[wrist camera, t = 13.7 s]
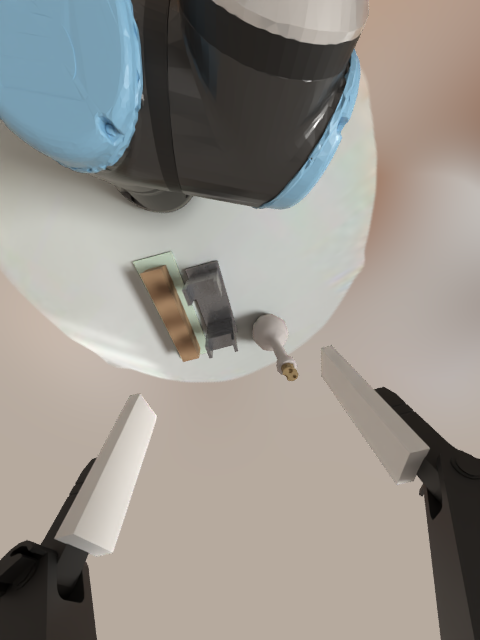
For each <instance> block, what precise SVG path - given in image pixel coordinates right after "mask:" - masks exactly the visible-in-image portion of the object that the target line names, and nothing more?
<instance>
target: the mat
mask: <svg viewBox="0 0 480 640" xmlns="http://www.w3.org/2000/svg"><path fill="white" fill-rule="evenodd" d="M133 264H134V266H135V268H136V270H137V272H138V274H139V276H140V273H142V272H144V271H145V270H147V269H151V268H155V267H159V266H163V265H166V266H167V269H168V271H169V274H170V276H171V278H172V281H173V283H174V286H175V288H176V290H177V293H178V295H179V298H180V300H181V302H182V305H183V307H184V310H185V312H186V314H187V317H188V319H189V322H190V324H191V326H192V329H193V331H194V334H195V336H196V338H197V341H198V343H199V346H200V348H201V349H200V354H204V353H207V351H206V348H205V342H206V338H205V335H204V333H203V330H202V328H201V325H200V323H199V320H198V318H197V315H196V313H195V310H194V307H193V305H191V306H188V304H187V302H186V299H185V297H184V294H183V292H182V289H183V287H184V282H183V280H182V277H181V274H180V272H179V269H178V267H177V264H176V262H175V259H174V257H173V254H172V252H168V253H164V254H160V255H156V256H153V257H149V258H145V259H142V260H138V261H134V262H133ZM140 278H141V276H140ZM141 279H142V278H141ZM142 281H143V280H142ZM143 283H144V282H143ZM144 285H145V284H144ZM145 287H146V286H145ZM146 289H147V288H146ZM147 291H148V290H147ZM148 293H149V292H148ZM149 295H150V294H149ZM150 297H151V296H150ZM151 299H152V298H151ZM152 301H153V300H152ZM153 303H154V302H153ZM154 305H155V304H154ZM155 307H156V306H155ZM156 309H157V308H156ZM157 311H158V310H157ZM158 313H159V312H158ZM159 315H160V314H159ZM160 317H161V316H160ZM161 319H162V318H161ZM162 321H163V320H162ZM163 323H164V322H163ZM164 325H165V324H164ZM165 327H166V326H165ZM166 329H167V328H166ZM167 331H168V330H167ZM168 333H169V332H168ZM169 335H170V334H169ZM170 337H171V336H170ZM171 339H172V338H171ZM172 341H173V340H172ZM173 343H174V342H173ZM174 345H175V344H174ZM175 347H176V346H175ZM176 349H177V348H176ZM177 351H178V350H177ZM178 353H179V352H178ZM179 355H180V354H179ZM180 357H181V356H180ZM181 359H182V358H181Z"/></svg>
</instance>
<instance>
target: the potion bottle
mask: <svg viewBox="0 0 480 640" xmlns="http://www.w3.org/2000/svg"><path fill="white" fill-rule="evenodd" d="M288 336H289V334H288V330H287V327H286V324H285V321H284V320H282V319H281V318H279V317H277V316H275V315H272V314H266V315H262V316H260V317H259V318H258V319H257V320H256V321H255V323H254V324H253V340H254V341H255V342H256V343H257V344H258V345H259V346H260V347H261V348H262V349H263V350H267V351H274V353H275V355H276V357H277V371H278V372H279V373H281V374H282V375H285V376H286V377H287V380H288V381H294V380H295V379H297V377H298V373H297V370H296V368H297V364H296V361H295V360H294V359H293V357H290V356H288V355H287V353H286V351H285V349H284V348H283V347H284V345H285V343H286V341H287V339H288Z"/></svg>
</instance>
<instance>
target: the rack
mask: <svg viewBox="0 0 480 640" xmlns="http://www.w3.org/2000/svg"><path fill="white" fill-rule="evenodd" d="M185 271H186V273H187V276H188V280H187V282H186V284H185V285H184V287H183V289H182V292H183V294H184V297H185V299H186V302H187V304H188V306H191V305H192V303H193V300H197V302H198V305H199V308H200V310H201V313H202V316H203V318H204V321H205V324H206V326H207V334H206V342H205V348H206V351H207V353H208V356H209V358H212V357H213V350H216V349H220V348H224V347H228V346H231V345H233V346H234V350H235V352H236V351H238V348H237V341H236V335H235V333H236V332H238V331H237V327H236V324H235V320H234V317H233V313H232V310H231V306H230V303H229V299H228V296H227V292H226V289H225V285H224V282H223V278H222V275H221V271H220V268H219V264H218V261H214V262H210V263H206V264H203V265H199V266H195V267H191V268H188V269H185Z"/></svg>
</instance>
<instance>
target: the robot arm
mask: <svg viewBox="0 0 480 640" xmlns="http://www.w3.org/2000/svg"><path fill="white" fill-rule="evenodd" d="M368 13H369V0H0V119H1V120H2V121H3V122H4V123H5V125H6V126H7V127H8V128H9V129H10V130H11V131H12V132H13V133H14V134H15V135H17V136H18V137H19V138H20V139H22V140H23V141H24V142H26V143H27V144H28V145H30V146H31V147H33V148H34V149H36V150H38V151H39V152H41V153H43V154H45V155H47V156H49V157H51V158H52V159H53V160H55V161H57V162H58V163H59V164H60V165H62V166H64V167H67V168H69V169H71V170H73V171H76V172H80V173H86V174H89V175H91V176H94V177H96V178H99V179H101V180H104V181H106V182H109V183H111V184H114V186H115V187H116V188H117V189H118V190H119V192H120V193H121V194H122V195H124V196H125V197H126V198H127V199H128V200H130V201H131V202H132V203H134V204H136V205H137V206H139V207H141V208H144V209H146V210H150V211H153V212H159V213H168V212H173V211H176V210H178V209H180V208H182V207H183V206H184V205H186V204H187V203H188V202H189V201H190V199H191V198H192V197H193V196H197V197H202V198H208V199H213V200H219V201H224V202H230V203H235V204H241V205H246V206H251V207H253V208H255V209H258V208H259V209H263V208H272V209H287V208H290V207H292V206H294V205H295V204H297V203H298V202H300V201H301V200H302V199H303V198H304V197H305V196H306V195H307V194H308V193H309V192H310V191H311V190H312V188H313V187H314V186H315V184H316V183H317V182H318V180H319V179H320V178H321V176H322V174H323V173H324V171H325V170H326V168H327V166H328V165H329V163H330V161H331V159H332V158H333V156H334V154H335V152H336V150H337V148H338V146H339V143H340V141H341V139H342V136H341V130H342V129H343V127H344V126H345V124H346V123H347V122H348V121H349V119H350V117H351V114H352V111H353V108H354V105H355V101H356V97H357V93H358V88H359V81H360V63H359V59H358V56H357V55H356V52H355V49H354V48H355V46H356V43H357V41H358V39H359V37H360V35H361V32H362V30H363V28H364V25H365V23H366V20H367V17H368ZM321 372H322V373H321V376H322V377H323V379H324V381H325V382H326V383H327V385H328V386H329V388H330V389H331V391H332V392H333V393H334V395H335V396H336V398H337V399H338V401H339V402H340V404H341V405H342V407H343V408H344V410H345V411H346V412H347V414H348V415H349V417H350V418H351V420H352V421H353V423H354V424H355V425H356V427H357V428H358V430H359V431H360V433H361V434H362V436H363V437H364V438H365V440H366V441H367V443H368V444H369V446H370V447H371V449H372V450H373V451H374V453H375V454H376V456H377V457H378V459H379V460H380V462H381V463H382V465H383V466H384V467H385V469H386V470H387V472H388V473H389V475H390V476H391V477H392V479H393V480H394V482H395V483H396V485H399V484H403V483H407V482H411V481H414V479H415V477H416V475H417V476H418V477H419V478H420V479H421V481H422V482H423V485H422V487H421V488H420V491H419V495H421V496H423V495H424V498H425V506H426V515H427V524H428V532H429V541H430V549H431V558H432V567H433V575H434V584H435V593H436V601H437V610H438V618H439V627H440V635H441V640H480V459H477V458H475V457H473V456H472V455H469V454H467V453H465V452H463V451H460V450H457V449H456V448H454V447H453V446H452V445H450V444H449V443H448V442H447V441H446V440H445V439H444V438H442V437H441V436H440V435H439V434H438V433H437V432H436V431H435V430H434V429H433V428H432V427H431V426H430V425H429V424H428V423H426V422H425V421H424V420H423V419H422V418H421V417H420V416H419V415H418V414H417V413H416V412H414V411H413V409H412V408H410V407H409V406H408V405H406V403H405V402H404V401H403V400H402V399H401V398H400V397H399V396H398V395H397V394H395V393H394V392H392V391H390V390H388V389H387V388H385V387H382V388H377V389H373V388H372V387H371V386H370V385H369V384H368V383H367V382H366V381H365V380H364V379H363V378H362V377H361V376H360V375H359V374H358V372H357V371H356V370H355V369H354V368H353V367H352V366H351V365H350V364H349V363H348V362H347V361H346V360H345V359H344V358H343V357H342V356H341V355H340V354H339V353H338V352H337V351H336V349H334V347H333V346H332V345H331V346H327V347H323V348H321ZM156 419H157V416H156V414H155V413H154V412H153V410H152V409H151V407H150V406H149V405H148V403H147V402H146V401H145V399H144V398H143V396H142V395H141V393H139V394H135V395H131V396H129V398H128V400H127V402H126V404H125V406H124V408H123V410H122V412H121V413H120V415H119V417H118V419H117V421H116V423H115V425H114V427H113V429H112V430H111V432H110V434H109V436H108V438H107V440H106V442H105V444H104V445H103V447H102V449H101V451H100V453H99V455H98V457H97V458H94V459H92V460H91V461H90V462H89V464H88V465H87V466H86V467H85V468H84V470H83V471H82V473H81V474H80V476H79V478H78V480H77V482H76V485H75V486H74V487H73V489H72V491H71V492H70V495H69V497H68V498H67V499H66V501H65V503H64V505H63V506H62V508H61V510H60V512H59V514H58V515H57V517H56V519H55V521H54V523H53V525H52V526H51V528H50V530H49V531H48V533H47V535H46V537H45V539H44V540H43V542H42V543H41V545H39V544H36V543H34V542H31V541H24V542H21V543H19V544H18V545H17V546H15V547H14V548H12V549H11V550H10V551H9V552H8V553H7V554H6V555H5V556H4V557H3V558H2V559H1V560H0V640H97V637H96V628H95V620H94V611H93V603H92V594H91V586H90V577H89V568H88V565H87V563H86V562H85V561H86V558H87V556H88V554H92V555H94V556H101V555H105V554H109V553H113V550H114V548H115V544H116V541H117V538H118V535H119V532H120V529H121V525H122V523H123V520H124V517H125V514H126V511H127V508H128V505H129V502H130V498H131V496H132V492H133V489H134V486H135V483H136V480H137V477H138V474H139V471H140V468H141V465H142V461H143V459H144V456H145V453H146V450H147V446H148V443H149V440H150V437H151V434H152V431H153V428H154V425H155V422H156Z"/></svg>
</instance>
